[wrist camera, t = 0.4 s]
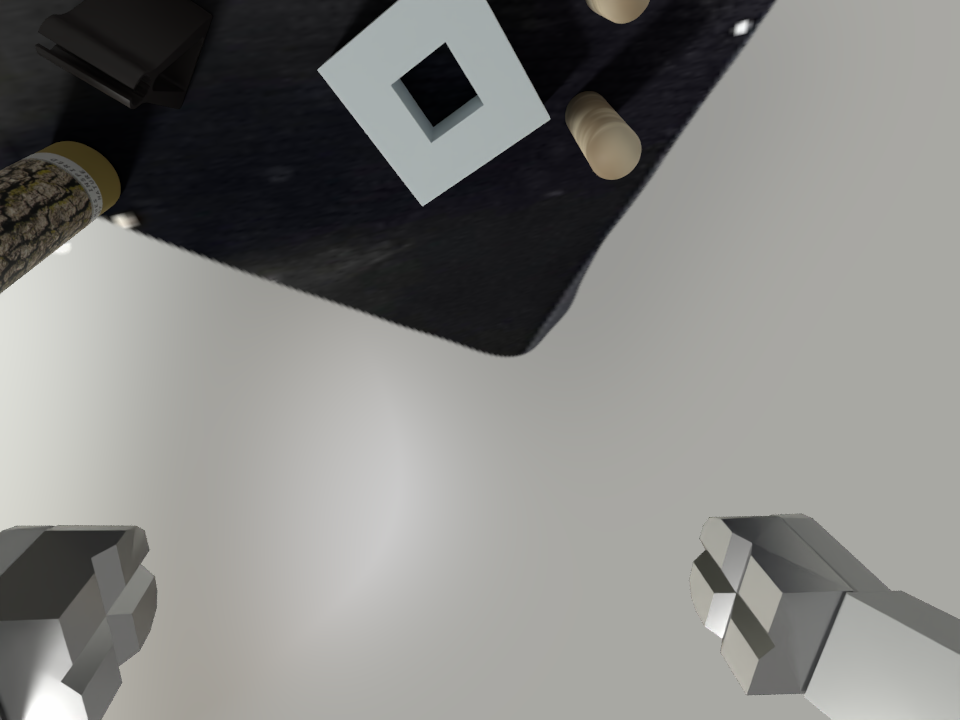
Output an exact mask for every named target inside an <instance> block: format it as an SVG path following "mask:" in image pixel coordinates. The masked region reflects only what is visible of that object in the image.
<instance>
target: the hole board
mask: <svg viewBox="0 0 960 720" xmlns="http://www.w3.org/2000/svg"><path fill="white" fill-rule="evenodd" d="M445 42H446V44H447V45H448V47H449V49H450V50H451V52H452V54H453V55H454V57H455V58H456V60H457V62H458V63H459V65H460V67H461V68H462V70H463V72H464V73H465V75H466V76H467V78H468V80H469V81H470V83H471V85H472V86H473V88H474V90H475V91H476V93H477V94H478V95H477V96H475V97H474V98H472V99H471V100H470V101H468V102H467V103H466V104H464V105H463V106H462V107H460V108H459V109H457V110H456V111H455V112H453V113H452V114H451V115H449V116H448V117H447V118H445V119H444V120H442V121H441V122H440V123H438V124H437V125H436V126H434V127H433V126H432V125H431V123H430V122H429V120H428V119H427V118H426V116H425V115H424V113H423V112H422V110H421V109H420V107H419V106H418V104H417V103H416V101H415V100H414V99H413V97H412V96H411V94H410V93H409V91H408V90H407V88H406V87H405V85H404V84H403V83H402V81H401V80H400V77H402V76H403V75H404V74H406V73H407V72H408V71H409V70H411V69H412V68H413V67H414V66H416V65H417V64H418V63H419V62H421V61H422V60H423V59H424V58H426V57H427V56H428V55H429V54H431V53H432V52H433V51H435V50H436V49H437V48H438V47H440V46H441V45H442V44H443V43H445ZM318 71H319V73H320V74H321V75H322V77H323V78H324V79H325V80H326V82H327V83H328V84H329V86H330V87H331V88H332V90H333V91H334V92H335V93H336V95H337V96H338V97H339V99H340V100H341V101H342V103H343V104H344V105H345V106H346V108H347V109H348V110H349V112H350V113H351V114H352V116H353V117H354V118H355V119H356V121H357V122H358V123H359V125H360V126H361V127H362V129H363V130H364V131H365V132H366V134H367V135H368V136H369V138H370V139H371V140H372V142H373V143H374V144H375V145H376V147H377V148H378V149H379V151H380V152H381V153H382V155H383V156H384V157H385V158H386V160H387V161H388V162H389V164H390V165H391V166H392V168H393V169H394V170H395V171H396V173H397V174H398V175H399V177H400V178H401V179H402V181H403V182H404V183H405V185H406V186H407V187H408V188H409V190H410V191H411V192H412V194H413V195H414V196H415V198H416V199H417V200H418V201H419V203H420V204H421V205H422V206H424V205H425V204H427V203H428V202H430V201H431V200H433V199H434V198H436V197H437V196H438V195H440V194H441V193H443V192H444V191H446V190H447V189H449V188H450V187H452V186H453V185H455V184H456V183H458V182H459V181H460V180H462V179H463V178H465V177H466V176H468V175H469V174H471V173H472V172H474V171H475V170H477V169H478V168H480V167H481V166H483V165H484V164H485V163H487V162H488V161H490V160H491V159H493V158H494V157H496V156H497V155H499V154H500V153H502V152H503V151H505V150H506V149H507V148H509V147H510V146H512V145H513V144H515V143H516V142H518V141H519V140H521V139H522V138H524V137H525V136H527V135H528V134H530V133H531V132H532V131H534V130H535V129H537V128H538V127H540V126H541V125H543V124H544V123H546V122H547V121H549V120H550V117H549V115H548V113H547V111H546V109H545V107H544V105H543V103H542V101H541V99H540V98H539V96H538V94H537V92H536V90H535V88H534V87H533V85H532V83H531V81H530V79H529V77H528V75H527V74H526V72H525V70H524V68H523V66H522V64H521V63H520V61H519V59H518V57H517V55H516V53H515V52H514V50H513V48H512V46H511V44H510V42H509V41H508V39H507V37H506V35H505V33H504V31H503V30H502V28H501V26H500V24H499V22H498V20H497V19H496V17H495V15H494V13H493V11H492V9H491V8H490V6H489V4H488V2H487V0H397V1H396V2H395V3H394V4H392V5H391V6H390V7H389V8H388V9H387V10H385V11H384V12H383V13H382V14H381V15H380V16H378V17H377V18H376V19H375V20H374V21H373V22H371V23H370V24H369V25H368V26H367V27H366V28H364V29H363V30H362V31H361V32H360V33H359V34H357V35H356V36H355V37H354V38H353V39H352V40H350V41H349V42H348V43H347V44H346V45H345V46H343V47H342V48H341V49H340V50H339V51H337V52H336V53H335V54H334V55H333V56H332V57H330V58H329V59H328V60H327V61H326V62H325V63H324V64H323V65H322V66H321V67H320V68H319V69H318Z"/></svg>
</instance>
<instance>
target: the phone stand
mask: <svg viewBox="0 0 960 720" xmlns="http://www.w3.org/2000/svg"><path fill="white" fill-rule="evenodd" d="M212 17H213V16H212V15H211V14H210V13H208V12H207V11H205V10H204V9H202V8H201V7H200V6H198V5H197V4H195V3H194V2H192V1H191V0H85V1H83V2H82V3H81V4H79V5H78V6H76V7H75V8H74V9H72V10H71V11H69V12H67V13H65V14H62V15H56V14H55V15H51V16H49V17H48V18H47V19H46V20H45V21H44V22H43V23H42V25H41V27H40V28H39V31H38V33H40V34H42V35H43V36H45V37H47V38H48V39H50V40H52V41H53V42H55V43H56V45H55V46H54V47H53V48H52V49H51V50H49V49H47V48H45V47H44V46H42V45H40V44H37V45H35V46H36V51H37V53H38V54H39V55H40V56H42V57H44V58H46V59H47V60H49V61H51V62H52V63H54V64H56V65H58V66H59V67H61V68H63V69H64V70H66V71H68V72H70V73H71V74H73V75H75V76H76V77H78V78H80V79H81V80H83V81H85V82H87V83H88V84H90V85H92V86H93V87H95V88H97V89H99V90H100V91H102V92H104V93H105V94H107V95H109V96H111V97H112V98H114V99H116V100H117V101H119V102H121V103H123V104H124V105H126V106H128V107H129V108H131V109H135V108H137V107H138V106H140V105H141V104H143V103H152V104H156V105H161V106H166V107H171V108H176V109H180V108H181V106H182V103H183V101H184V98H185V95H186V92H187V89H188V86H189V83H190V81H191V78H192V75H193V72H194V69H195V66H196V65H195V64H196V62H197V61H198V58H199V55H200V52H201V49H202V46H203V43H204V40H205V38H206V35H207V32H208V29H209V26H210V23H211V20H212Z"/></svg>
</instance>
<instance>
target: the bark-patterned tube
mask: <svg viewBox="0 0 960 720" xmlns="http://www.w3.org/2000/svg"><path fill="white" fill-rule="evenodd" d="M120 192H121V186H120V181H119V177H118V175H117V173H116V171H115V169H114V167H113V166H112V165H111V163H110V162H109V161H108V160H107V159H106V158H105V157H104V156H103V155H101V154H100V153H99V152H97V151H96V150H94V149H93V148H91V147H89V146H86V145H84V144H81V143H78V142H73V141H62V142H57V143H54V144H52V145H50V146H48V147H46V148H45V149H43V150H41V151H39V152H37V153H35V154H32V155H30V156H28V157H26V158H24V159H22V160H20V161H18V162H16V163H14V164H13V165H11V166H9V167H7V168H5V169H3V170H1V171H0V293H1V292H3V291H4V290H5V289H7V288H8V287H9V286H10V285H12V284H13V283H14V282H15V281H17V280H18V279H19V278H21V277H22V276H23V275H24V274H26V273H27V272H28V271H30V270H31V269H32V268H33V267H35V266H36V265H37V264H39V263H40V262H41V261H43V260H44V259H45V258H46V257H48V256H49V255H50V254H52V253H53V252H54V251H55V250H57V249H58V248H59V247H60V246H62V245H63V244H64V243H66V242H67V241H68V240H69V239H71V238H72V237H73V236H75V234H77V233H78V232H80V231H81V230H82V229H84V228H85V227H86V226H87V225H88V224H90V223H91V222H93V221H94V220H95V219H96V218H97V217H98V216H100V215H101V214H102V213H104V212H105V211H106V210H107V209H109V208H110V207H111V206H113V205H114V204H115V203H116V201H117V200H118V198H119V196H120Z"/></svg>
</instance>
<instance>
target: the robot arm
mask: <svg viewBox="0 0 960 720" xmlns="http://www.w3.org/2000/svg"><path fill="white" fill-rule="evenodd" d="M699 539H700V541H701V542H702V544H703V546H704V548H705V551H704V552H703V553H702V554H701V555H700V556H699V557H698V558H697V559H696V560H694V562H693V565H692V570H691V574H690V579H689V580H690V590H691V598H692V601H693V604H694V606H695V609H696V612H697V614H698V616H699V617H700V619H701V621H702V623H703V624H704V626H705V627H706V628H708V629H709V630H711V631H712V632H713V633H715V634H716V635H718V636H720V637H721V638H722V645H721V654H722V656H723V657H724V659H725V661H726V662H727V664H728V666H729V667H730V669H731V670H732V672H733V674H734V675H735V677H736V679H737V680H738V682H739V684H740V685H741V687H742V689H743V690H744V692H745V693H746V695H771V694H804V693H805V696H804V697H805V698H806V699H807V700H808V701H810V702H811V703H812V704H813V705H815V706H816V707H817V708H818V709H819V710H821V711H822V712H823V713H824V714H825V715H827V716H828V717H829V718H830V719H832V720H960V619H958V618H956V617H954V616H952V615H950V614H948V613H946V612H944V611H942V610H939V609H937V608H935V607H933V606H931V605H929V604H927V603H925V602H923V601H921V600H919V599H917V598H915V597H913V596H911V595H909V594H907V593H905V592H903V591H891V590H890V589H888V587H887V586H886V585H884V584H883V583H882V582H881V581H880V580H879V579H878V578H877V577H876V576H875V575H874V574H872V573H871V572H870V571H869V570H868V569H867V568H866V567H865V566H864V565H863V564H862V563H861V562H860V561H858V560H857V559H856V558H855V557H854V556H853V555H852V554H851V553H850V552H849V551H848V550H847V549H845V548H844V547H843V546H842V545H841V544H840V543H839V542H838V541H837V540H836V539H835V538H833V537H832V536H831V535H830V534H829V533H828V532H827V531H826V530H825V529H824V528H822V526H821V525H819V524H818V523H817V522H816V521H815V520H814V519H813V518H811V517H808V516H806V515H804V514H780V515H770V516H744V517H743V516H742V517H709V519H708V520H707V521H706V522H705V524H704V525H703V528H702V531H701V535H700V538H699ZM148 552H149V546H148V543H147V538H146V535H145V531H144V530H143V529H141V528H139V527H138V526H92V525H91V526H89V525H88V526H87V525H84V526H83V525H80V526H79V525H58V526H15V527H12V528H9V529H6V530H3V531H2V532H0V720H101V719H102V717H103V715H104V714H105V712H106V710H107V709H108V707H109V705H110V703H111V702H112V700H113V698H114V696H115V694H116V692H117V691H118V689H119V687H120V686H121V684H122V679H121V675H120V671H119V666H120V665H121V664H123V663H124V662H125V661H127V660H128V659H129V658H131V657H132V656H133V655H135V654H136V653H137V652H139V651H140V649H141V647H142V646H143V644H144V642H145V640H146V638H147V636H148V634H149V632H150V630H151V626H152V622H153V619H154V616H155V612H156V608H157V587H156V581H155V576H154V575H152V574H151V573H150V572H149V571H148V570H147V569H146V568H145V567H144V566H142V565H141V562H142V561H143V559H144V558H145V556H146V555H147V553H148Z"/></svg>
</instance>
